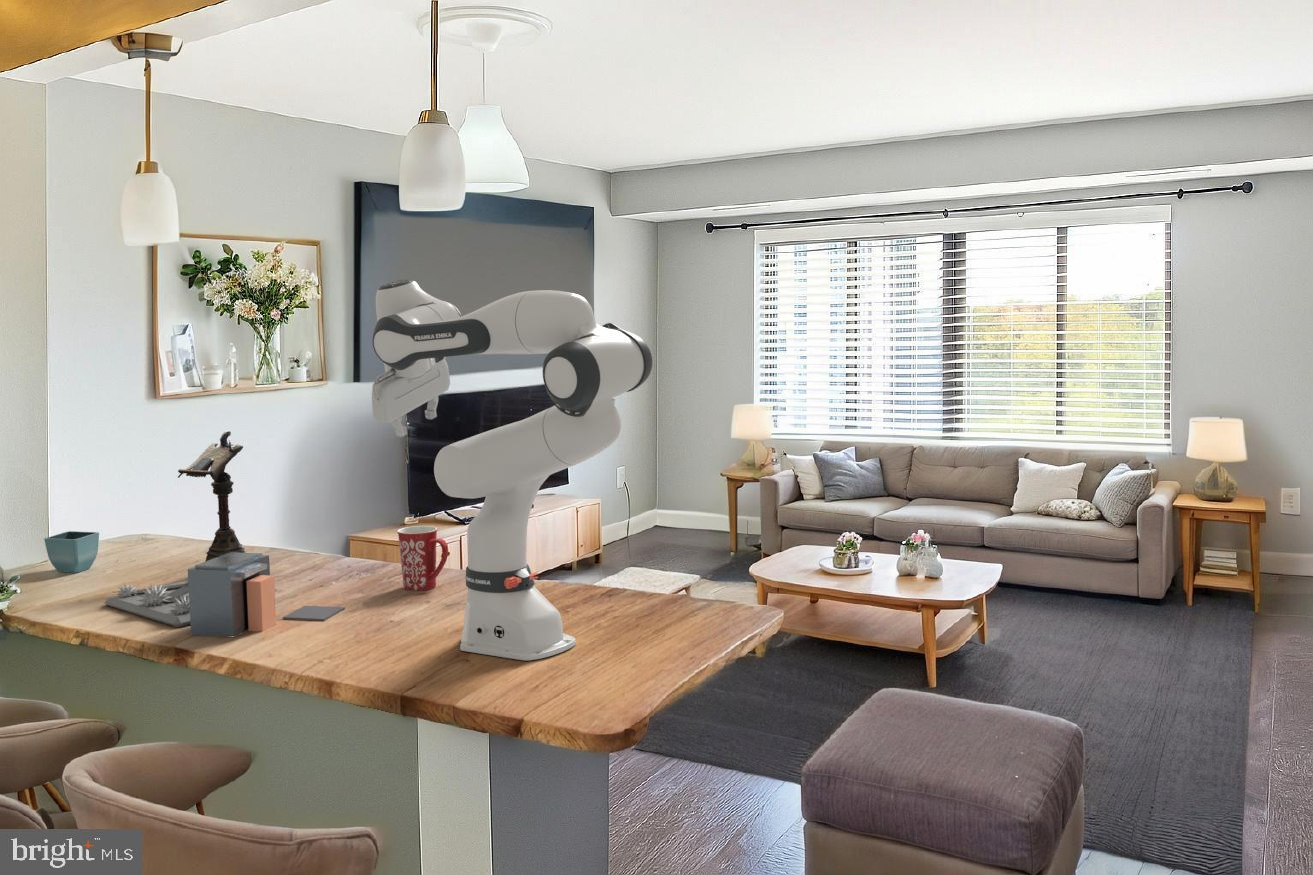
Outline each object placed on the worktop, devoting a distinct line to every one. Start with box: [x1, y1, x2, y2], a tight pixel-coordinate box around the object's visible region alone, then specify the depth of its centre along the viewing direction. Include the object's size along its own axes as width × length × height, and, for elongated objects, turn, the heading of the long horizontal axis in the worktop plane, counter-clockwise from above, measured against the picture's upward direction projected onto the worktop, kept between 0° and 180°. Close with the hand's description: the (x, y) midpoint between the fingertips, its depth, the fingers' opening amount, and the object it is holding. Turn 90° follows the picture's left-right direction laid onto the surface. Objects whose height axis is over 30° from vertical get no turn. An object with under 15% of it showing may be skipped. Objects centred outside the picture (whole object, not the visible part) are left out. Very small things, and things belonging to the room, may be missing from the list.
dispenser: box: [187, 552, 271, 637], centre depth 210 cm, size 10×14×14 cm
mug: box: [396, 525, 449, 592], centre depth 240 cm, size 13×9×14 cm
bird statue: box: [177, 431, 246, 562], centre depth 251 cm, size 17×13×35 cm
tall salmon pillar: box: [246, 574, 277, 632], centre depth 209 cm, size 3×5×10 cm, turn 170°
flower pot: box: [43, 530, 100, 574], centre depth 259 cm, size 9×9×9 cm
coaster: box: [282, 605, 345, 622], centre depth 220 cm, size 9×9×1 cm
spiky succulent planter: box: [104, 577, 191, 628], centre depth 226 cm, size 30×22×7 cm
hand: (416, 426), depth 212 cm, fingers open, 8 cm apart
